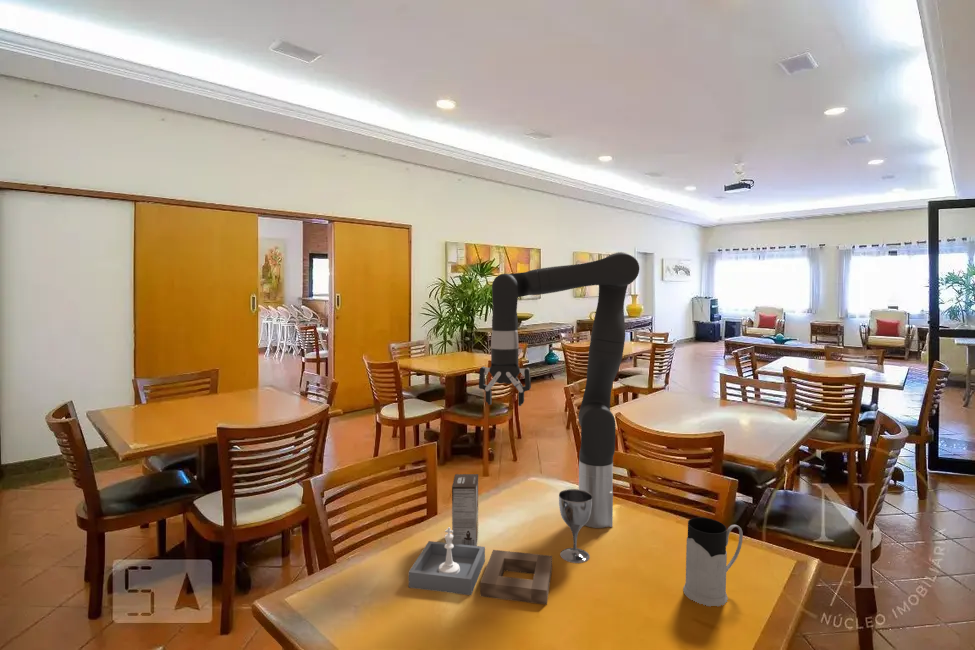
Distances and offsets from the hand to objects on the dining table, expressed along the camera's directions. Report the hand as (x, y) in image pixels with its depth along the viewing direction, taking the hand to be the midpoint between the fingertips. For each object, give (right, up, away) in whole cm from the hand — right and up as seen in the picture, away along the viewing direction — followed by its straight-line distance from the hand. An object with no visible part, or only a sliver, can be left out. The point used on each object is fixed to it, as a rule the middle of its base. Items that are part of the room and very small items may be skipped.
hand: (504, 404), depth 140 cm
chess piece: (-14, -34, -25) cm, 44 cm away
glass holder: (+44, -35, -32) cm, 65 cm away
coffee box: (-10, -34, -9) cm, 37 cm away
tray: (-14, -35, -25) cm, 45 cm away
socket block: (+2, -35, -28) cm, 45 cm away
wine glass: (+17, -34, -17) cm, 42 cm away
